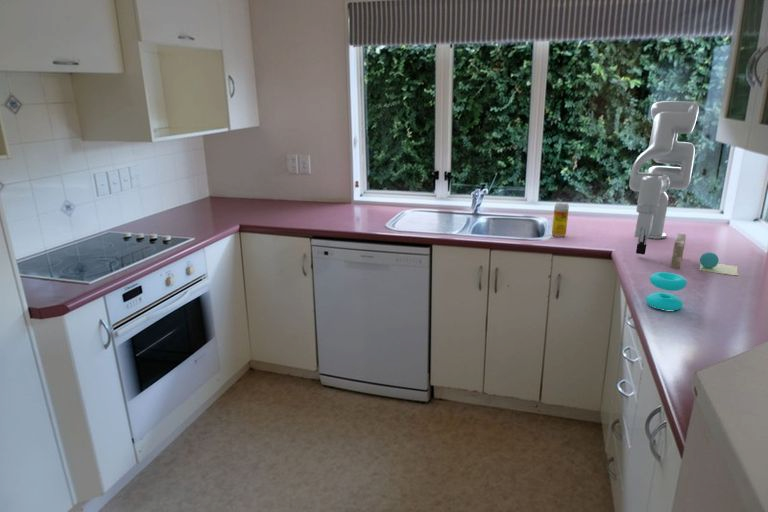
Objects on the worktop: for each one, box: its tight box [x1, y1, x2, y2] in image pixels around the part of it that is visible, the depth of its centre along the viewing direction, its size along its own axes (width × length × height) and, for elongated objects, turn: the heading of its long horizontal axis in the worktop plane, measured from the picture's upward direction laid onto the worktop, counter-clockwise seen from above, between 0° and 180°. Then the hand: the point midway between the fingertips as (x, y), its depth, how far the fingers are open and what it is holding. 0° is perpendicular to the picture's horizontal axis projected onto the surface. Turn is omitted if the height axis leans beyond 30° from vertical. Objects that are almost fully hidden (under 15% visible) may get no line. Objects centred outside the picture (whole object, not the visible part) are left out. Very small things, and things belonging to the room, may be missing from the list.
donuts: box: [645, 271, 688, 311], centre depth 163 cm, size 10×10×10 cm
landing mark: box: [699, 262, 739, 277], centre depth 199 cm, size 12×12×1 cm
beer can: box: [551, 201, 570, 238], centre depth 241 cm, size 6×6×15 cm
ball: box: [699, 251, 720, 268], centre depth 199 cm, size 6×6×6 cm
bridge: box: [670, 233, 687, 269], centre depth 205 cm, size 3×15×10 cm, turn 149°
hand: (640, 253), depth 212 cm, fingers closed
